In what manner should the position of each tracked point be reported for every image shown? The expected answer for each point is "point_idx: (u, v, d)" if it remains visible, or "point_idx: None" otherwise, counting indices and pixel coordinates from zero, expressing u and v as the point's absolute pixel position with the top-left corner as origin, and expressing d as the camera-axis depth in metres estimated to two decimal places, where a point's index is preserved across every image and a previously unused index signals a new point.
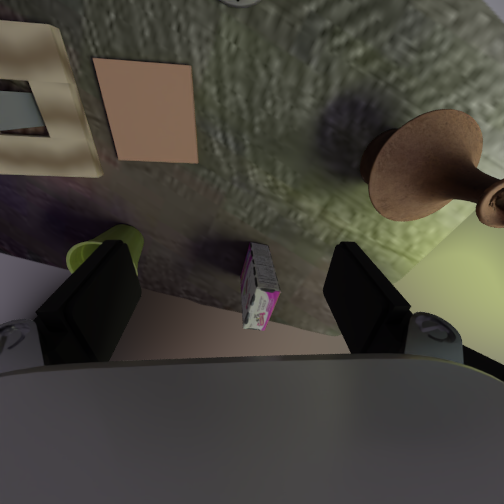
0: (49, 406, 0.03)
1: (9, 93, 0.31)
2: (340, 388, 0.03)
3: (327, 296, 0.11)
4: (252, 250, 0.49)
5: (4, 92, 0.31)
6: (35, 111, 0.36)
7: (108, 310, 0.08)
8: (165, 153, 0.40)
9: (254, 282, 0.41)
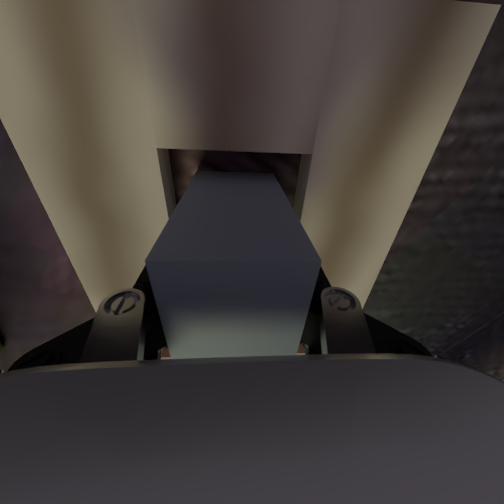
0: (49, 406, 0.03)
1: None
2: (340, 389, 0.03)
3: None
4: None
5: None
6: None
7: None
8: None
9: None
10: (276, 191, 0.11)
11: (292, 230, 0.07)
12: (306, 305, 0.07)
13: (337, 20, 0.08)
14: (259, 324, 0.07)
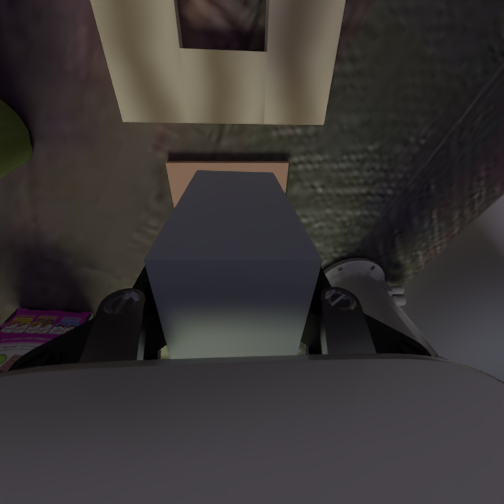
0: (49, 406, 0.03)
1: None
2: (340, 388, 0.03)
3: None
4: None
5: None
6: None
7: None
8: None
9: None
10: (276, 190, 0.10)
11: (292, 229, 0.07)
12: (306, 305, 0.07)
13: None
14: (260, 324, 0.07)
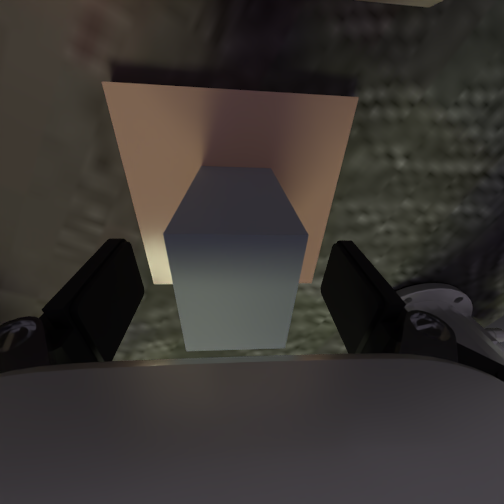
0: (49, 406, 0.03)
1: None
2: (340, 388, 0.03)
3: (324, 295, 0.11)
4: None
5: None
6: None
7: (112, 308, 0.08)
8: (159, 225, 0.16)
9: None
10: (273, 182, 0.12)
11: (285, 213, 0.08)
12: (296, 275, 0.08)
13: None
14: (257, 293, 0.08)
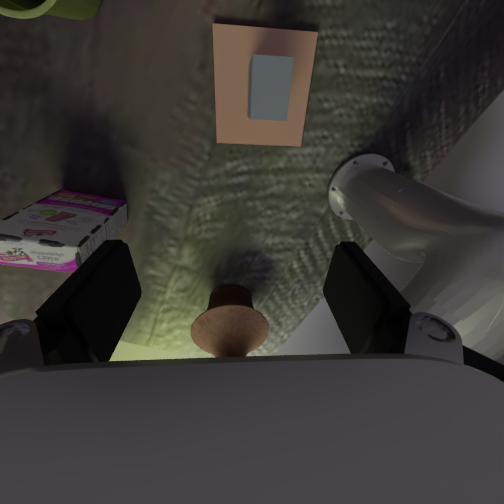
0: (49, 406, 0.03)
1: None
2: (340, 388, 0.03)
3: (327, 296, 0.11)
4: (118, 210, 0.39)
5: None
6: None
7: (108, 310, 0.08)
8: (225, 101, 0.33)
9: (81, 238, 0.30)
10: None
11: None
12: (290, 76, 0.25)
13: None
14: (278, 84, 0.25)
